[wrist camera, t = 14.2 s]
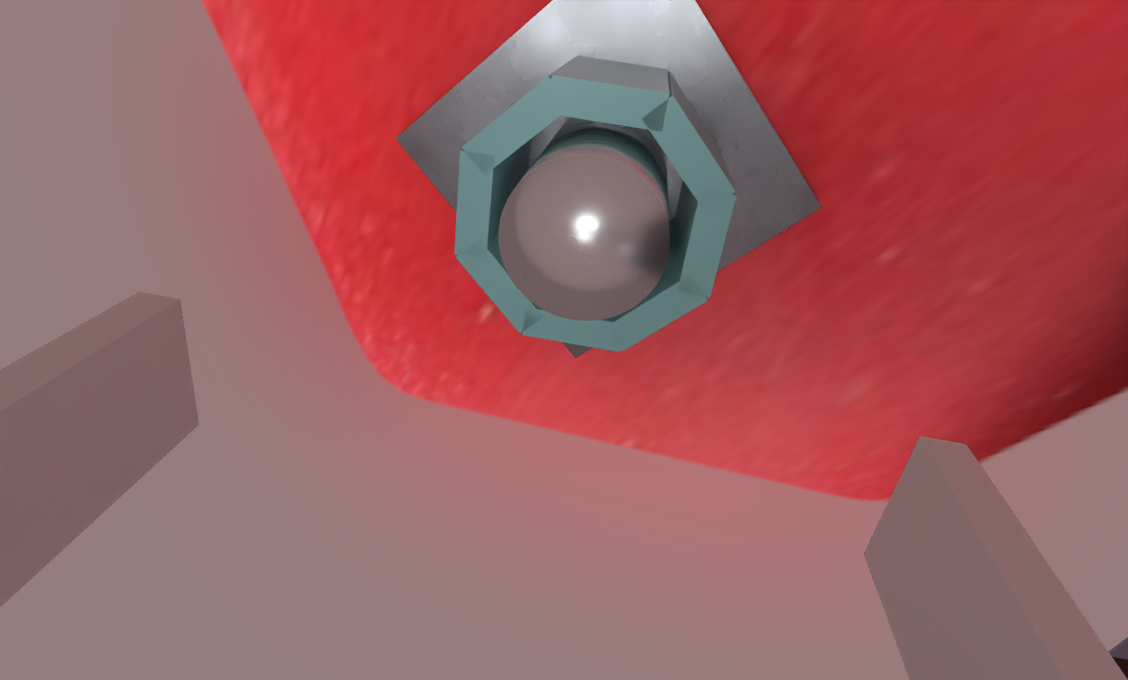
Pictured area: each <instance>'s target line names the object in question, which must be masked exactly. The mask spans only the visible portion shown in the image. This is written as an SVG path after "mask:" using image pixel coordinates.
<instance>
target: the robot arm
mask: <svg viewBox="0 0 1128 680" xmlns="http://www.w3.org/2000/svg"><path fill="white" fill-rule="evenodd" d="M198 425H199V421H198V414H197V408H196V401H195V394H194V388H193V381H192V375H191V368H190V362H189V355H188V349H187V342H186V335H185V329H184V323H183V316H182V309H181V302H180V299H176V298H170V297H165V296H159V295H154V294H149V293H143V292H138V293H136V294H135V295H133V296H131V297H129V298H128V299H126V300H124V301H122V302H120V303H119V304H117V305H115V306H113V307H112V308H110V309H108V310H106V311H104V312H103V313H101V314H99V315H97V316H96V317H94V318H92V319H90V320H88V321H86V322H85V323H83V324H81V325H79V326H78V327H76V328H74V329H72V330H70V331H69V332H67V333H65V334H63V335H62V336H60V337H58V338H56V339H55V340H53V341H51V342H49V343H47V344H46V345H44V346H42V347H40V348H39V349H37V350H35V351H33V352H31V353H29V354H28V355H26V356H24V357H22V358H21V359H19V360H17V361H15V362H14V363H12V364H10V365H8V366H6V367H5V368H3V369H1V370H0V607H1V606H2V605H3V604H4V603H5V602H7V601H8V600H9V599H10V598H11V597H12V596H13V595H14V594H15V593H16V592H17V591H19V590H20V589H21V588H22V587H23V586H24V585H25V584H26V583H27V582H28V581H29V580H30V579H32V578H33V577H34V576H35V575H36V574H37V573H38V572H39V571H40V570H41V569H43V568H44V567H45V566H46V565H47V564H48V563H49V562H50V561H51V560H52V559H53V558H54V557H55V556H57V555H58V554H59V553H60V552H61V551H62V550H63V549H64V548H65V547H66V546H68V545H69V544H70V543H71V542H72V541H73V540H74V539H75V538H76V537H77V536H78V535H79V534H80V533H82V532H83V531H84V530H85V529H86V528H87V527H88V526H89V525H90V524H91V523H93V522H94V521H95V520H96V519H97V518H98V517H99V516H100V515H101V514H102V513H103V512H104V511H106V509H108V508H109V507H110V506H111V505H112V504H113V503H114V502H115V501H116V500H117V499H119V498H120V497H121V496H122V495H123V494H124V493H125V492H126V491H127V490H128V489H129V488H131V487H132V486H133V485H134V484H135V483H136V482H137V481H138V480H139V479H140V478H141V477H143V476H144V475H145V474H146V473H147V472H148V471H149V470H150V469H151V468H152V467H153V466H154V465H156V464H157V463H158V462H159V461H160V460H161V459H162V458H163V457H164V456H165V455H166V454H167V453H169V451H171V450H172V449H173V448H174V447H175V446H176V445H177V444H178V443H179V442H180V441H182V440H183V439H184V438H185V437H186V436H187V435H188V434H189V433H190V432H191V431H192V430H193V429H194V428H196V427H197V426H198ZM864 556H865V558H866V561H867V564H868V567H869V569H870V572H871V575H872V578H873V580H874V583H875V586H876V589H877V591H878V594H879V597H880V600H881V602H882V605H883V608H884V610H885V613H886V616H887V619H888V621H889V624H890V627H891V630H892V632H893V635H894V637H895V641H896V643H897V646H898V649H899V651H900V654H901V657H902V660H903V662H904V665H905V668H906V671H907V673H908V676H909V679H910V680H1128V638H1126V639H1125V640H1124V641H1122V642H1121V643H1120V644H1118V645H1117V646H1115V647H1114V648H1113V649H1111V650H1110V651H1107V649H1106V647H1105V646H1104V645H1103V643H1102V642H1101V640H1100V639H1099V638H1098V636H1097V634H1096V633H1095V631H1094V630H1093V629H1092V627H1091V626H1090V624H1089V623H1088V621H1087V620H1086V618H1085V617H1084V616H1083V614H1082V613H1081V611H1080V610H1079V608H1078V607H1077V605H1076V604H1075V602H1074V601H1073V599H1072V598H1071V596H1070V595H1069V593H1068V592H1067V591H1066V589H1065V588H1064V586H1063V585H1062V583H1061V582H1060V580H1059V579H1058V578H1057V576H1056V575H1055V573H1054V572H1053V570H1052V569H1051V567H1050V566H1049V564H1048V563H1047V561H1046V560H1045V559H1044V557H1043V556H1042V554H1041V553H1040V551H1039V550H1038V548H1037V547H1036V545H1035V544H1034V542H1033V541H1032V540H1031V538H1030V537H1029V535H1028V534H1027V532H1026V531H1025V529H1024V528H1023V526H1022V525H1021V523H1020V522H1019V521H1018V519H1017V518H1016V516H1015V515H1014V513H1013V512H1012V510H1011V509H1010V507H1009V506H1008V504H1007V503H1006V502H1005V500H1004V499H1003V497H1002V496H1001V494H1000V493H999V491H998V490H997V489H996V487H995V486H994V484H993V483H992V481H991V480H990V478H989V477H988V476H987V474H986V472H985V471H984V469H983V468H982V467H981V465H980V464H979V462H978V461H977V459H976V458H975V456H974V455H973V453H972V452H971V450H970V449H969V448H968V446H967V445H966V444H962V443H957V442H952V441H946V440H941V439H935V438H930V437H925V436H920V437H919V439H918V441H917V443H916V446H915V448H914V450H913V452H912V454H911V456H910V458H909V460H908V462H907V464H906V466H905V468H904V471H903V473H902V475H901V477H900V479H899V481H898V483H897V485H896V487H895V489H894V491H893V494H892V496H891V498H890V500H889V502H888V504H887V506H886V508H885V510H884V512H883V514H882V517H881V519H880V521H879V523H878V525H877V527H876V529H875V531H874V533H873V536H872V537H871V540H870V542H869V544H868V546H867V548H866V550H865V552H864Z"/></svg>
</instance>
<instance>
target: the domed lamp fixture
mask: <svg viewBox="0 0 1128 680" xmlns="http://www.w3.org/2000/svg"><path fill="white" fill-rule="evenodd" d="M578 56H584V57H591V58H597V59H604V60H610V61H617V62H623V63H630V64H636V65H643V66H649V67H656V68H662V69H667V72H669V71H670V72H671V74H672V76H673V77H674V79H675V80H676V82H677V83H678V85H679V86H680V88H681V89H682V91H683V93H684V94H685V96H686V97H687V99H688V100H689V102H690V103H691V105H692V106H693V108H694V110H695V111H696V113H697V114H698V116H699V117H700V119H701V120H702V122H703V123H704V125H705V126H706V128H707V130H708V131H709V133H710V134H711V136H712V137H713V139H714V140H715V142H716V143H717V145H718V148H719V150H720V153H721V155H722V158H723V160H724V163H725V165H726V168H727V170H728V173H729V175H730V178H731V181H732V183H733V186H734V188H735V191H736V192H735V193H736V199H735V203H734V207H733V211H732V215H731V219H730V222H729V226H728V230H727V234H726V238H725V242H724V246H723V250H722V254H721V257H720V261H719V265H718V269H717V271H719V270H720V269H722V268H723V267H725V266H727V265H728V264H730V263H732V262H733V261H735V260H736V259H738V258H740V257H741V256H743V255H745V254H746V253H748V252H750V251H751V250H753V249H754V248H756V247H758V246H759V245H761V244H763V243H764V242H766V241H767V240H769V239H771V238H772V237H774V236H776V235H777V234H779V233H781V232H782V231H784V230H785V229H787V228H789V227H790V226H792V225H794V224H795V223H797V222H798V221H800V220H802V219H803V218H805V217H807V216H808V215H810V214H812V213H813V212H815V211H816V210H818V209H820V208H821V207H822V206H821V205H820V203H819V202H818V200H817V198H816V197H815V195H814V193H813V192H812V190H811V188H810V187H809V185H808V184H807V182H806V180H805V179H804V177H803V175H802V174H801V172H800V171H799V169H798V167H797V166H796V164H795V162H794V161H793V159H792V158H791V156H790V154H789V153H788V151H787V149H786V148H785V146H784V145H783V143H782V141H781V140H780V138H779V136H778V135H777V133H776V131H775V130H774V128H773V127H772V125H771V123H770V122H769V120H768V118H767V117H766V115H765V114H764V112H763V110H762V109H761V107H760V105H759V104H758V102H757V101H756V99H755V97H754V96H753V94H752V92H751V91H750V89H749V87H748V86H747V84H746V83H745V81H744V79H743V78H742V76H741V74H740V73H739V71H738V70H737V68H736V66H735V65H734V63H733V61H732V60H731V58H730V57H729V55H728V53H727V52H726V50H725V48H724V47H723V45H722V44H721V42H720V40H719V39H718V37H717V35H716V34H715V32H714V30H713V29H712V27H711V26H710V24H709V22H708V21H707V19H706V17H705V16H704V14H703V13H702V11H701V9H700V8H699V6H698V4H697V3H696V1H695V0H552V1H551V2H550V3H549V4H548V5H547V6H546V7H545V8H543V9H542V10H541V11H540V12H539V13H538V14H537V15H535V16H534V17H533V18H532V19H531V20H530V21H529V22H527V23H526V24H525V25H524V26H523V27H522V28H521V29H519V30H518V31H517V32H516V33H515V34H514V35H513V36H512V37H510V38H509V39H508V40H507V41H506V42H505V43H504V44H502V45H501V46H500V47H499V48H498V49H497V50H496V51H494V52H493V53H492V54H491V55H490V56H489V57H488V58H486V59H485V60H484V61H483V62H482V63H481V64H480V65H478V66H477V67H476V68H475V69H474V70H473V71H472V72H471V73H469V74H468V75H467V76H466V77H465V78H464V79H463V80H461V81H460V82H459V83H458V84H457V85H456V86H455V87H453V88H452V89H451V90H450V91H449V92H448V93H447V94H445V95H444V96H443V97H442V98H441V99H440V100H439V101H437V102H436V103H435V104H434V105H433V106H432V107H431V108H430V109H428V110H427V111H426V112H425V113H424V114H423V115H422V116H420V117H419V118H418V119H417V120H416V121H415V122H414V123H412V124H411V125H410V126H409V127H408V128H407V129H406V130H404V131H403V132H402V133H401V134H400V135H399V136H398V137H397V138H396V139H397V141H398V142H399V143H400V144H401V146H402V147H403V148H404V149H405V150H406V152H407V153H408V154H409V155H410V157H411V158H412V159H413V160H414V161H415V163H416V164H417V165H418V166H419V168H420V169H421V170H422V171H423V172H424V174H425V175H426V176H427V177H428V179H429V180H430V181H431V182H432V183H433V185H434V186H435V187H436V188H437V190H438V191H439V192H440V193H441V194H442V196H443V197H444V198H445V199H446V201H447V202H448V203H449V204H450V205H451V207H452V208H453V209H454V210H455V211H456V213H457V197H458V179H459V161H460V150H461V149H463V148H462V147H463V146H464V145H465V144H466V143H467V142H469V141H470V140H471V139H472V138H473V137H475V136H476V135H477V134H478V133H479V132H481V131H482V130H483V129H484V128H486V127H487V126H488V125H489V124H490V123H492V122H493V121H494V120H495V119H496V118H498V117H499V116H500V115H501V114H503V113H504V112H505V111H506V110H507V109H509V108H510V107H511V106H512V105H513V104H515V103H516V102H517V101H518V100H519V99H521V98H522V97H523V96H524V95H526V94H527V93H528V92H529V91H530V90H532V89H533V88H534V87H535V86H536V85H538V84H539V83H540V82H541V81H543V80H544V79H545V78H546V77H547V76H549V75H550V74H552V73H553V72H554V71H556V70H557V69H559V68H560V67H562V66H563V65H564V64H566V63H567V62H569V61H570V60H572V59H573V58H574V57H578ZM682 183H683V179H682V178H681V176H680V175H679V173H678V172H677V170H676V169H675V167H674V166H673V164H672V163H671V161H670V160H669V159H668V157H667V156H666V154H665V153H664V151H663V150H662V148H661V147H660V145H659V144H658V142H657V141H656V139H655V138H654V136H653V135H652V133H651V132H650V131H649V130H648V129H642V128H635V127H629V126H623V125H616V124H610V123H604V122H598V121H591V120H585V119H579V118H572V117H566V116H559V117H558V118H557V119H555V120H554V121H553V122H552V123H550V124H549V125H548V126H546V127H545V128H544V129H543V130H541V131H540V132H539V133H538V134H536V135H535V136H534V137H533V138H531V148H530V157H529V167H528V171H527V172H526V174H525V175H524V176H523V178H522V179H521V180H520V182H519V183H518V184H517V186H516V187H515V188H514V190H513V191H512V193H511V194H510V196H509V197H508V199H507V201H506V204H505V206H504V208H503V211H502V214H501V218H500V224H499V236H498V240H499V249H500V254H501V258H502V261H503V264H504V266H505V269H506V271H507V273H508V275H509V277H510V279H511V280H512V282H513V283H514V284H515V286H516V287H517V288H518V290H519V291H520V292H521V293H522V294H523V295H524V296H525V297H526V298H527V299H529V300H530V301H531V302H532V303H533V304H535V305H536V306H538V307H539V308H541V309H543V310H545V311H547V312H549V313H551V314H553V315H556V316H559V317H562V318H566V319H571V320H579V321H595V320H603V319H607V318H611V317H614V316H617V315H619V314H622V313H624V312H626V311H628V310H630V309H632V308H633V307H635V306H636V305H637V304H639V303H640V302H641V301H642V300H643V299H645V298H646V297H647V296H648V295H649V294H650V292H651V291H652V290H653V289H654V288H655V286H656V285H657V283H658V281H659V280H660V278H661V276H662V274H663V272H664V269H665V267H666V263H667V260H668V255H669V248H670V229H669V220H671V219H672V218H674V217H675V215H676V210H677V206H678V201H679V197H680V192H681V187H682ZM563 343H564V345H565V346H566V347H567V348H568V349H569V351H570V352H571V353H572V354H573V355H574V357H575V358H577V357H578V356H580V355H581V354H583V353H585V352H586V351H588V350H590V349H591V348H593V347H587V346H582V345H576V344H570V343H565V342H563Z"/></svg>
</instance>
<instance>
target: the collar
mask: <svg viewBox="0 0 1128 680" xmlns="http://www.w3.org/2000/svg"><path fill="white" fill-rule="evenodd" d="M559 116H566V117H572V118H579V119H585V120H591V121H598V122H604V123H610V124H616V125H623V126H629V127H635V128H642V129H648V130H649V131H650V132H651V133H652V135H653V136H654V138H655V139H656V141H657V142H658V144H659V145H660V147H661V148H662V150H663V151H664V153H665V154H666V156H667V157H668V159H669V160H670V161H671V163H672V164H673V166H674V167H675V169H676V170H677V172H678V173H679V175H680V176H681V178H682V179H683V183H682V187H681V192H680V197H679V201H678V206H677V210H676V215H675V217H674V218H672V219H671V220H669V229H670V248H669V255H668V260H667V263H666V267H665V269H664V272H663V274H662V276H661V278H660V280H659V281H658V283H657V285H656V286H655V288H654V289H653V290H652V291H651V292H650V294H649V295H648V296H647V297H646V298H645V299H643V300H642V301H641V302H640V303H639V304H637V305H636V306H635V307H633V308H632V309H630V310H628V311H626V312H624V313H622V314H619V315H617V316H614V317H611V318H607V319H603V320H595V321H579V320H571V319H566V318H562V317H559V316H556V315H553V314H551V313H549V312H547V311H545V310H543V309H541V308H539V307H538V306H536V305H535V304H533V303H532V302H531V301H530V300H529V299H527V298H526V297H525V296H524V295H523V294H522V293H521V292H520V291H519V290H518V288H517V287H516V286H515V284H514V283H513V282H512V280H511V279H510V277H509V275H508V273H507V271H506V269H505V266H504V264H503V261H502V258H501V254H500V249H499V240H498V236H499V224H500V218H501V214H502V211H503V208H504V206H505V204H506V201H507V199H508V197H509V196H510V194H511V193H512V191H513V190H514V188H515V187H516V186H517V184H518V183H519V182H520V180H521V179H522V178H523V176H524V175H525V174H526V172H527V171H528V167H529V157H530V148H531V138H533V137H534V136H535V135H536V134H538V133H539V132H540V131H541V130H543V129H544V128H545V127H546V126H548V125H549V124H550V123H552V122H553V121H554V120H555V119H557V118H558V117H559ZM462 148H463V149H461V150H460V161H459V179H458V197H457V215H456V233H455V251H454V254H457V256H456V258H457V260H458V261H459V262H460V263H461V264H462V266H463V267H464V268H465V269H466V270H467V271H468V273H469V274H470V275H471V276H472V277H473V279H474V280H475V281H476V282H477V283H478V285H479V286H480V287H481V288H482V289H483V291H484V292H485V293H486V294H487V295H488V296H489V298H490V299H491V300H492V301H493V302H494V304H495V305H496V306H497V307H498V308H499V310H500V311H501V312H502V313H503V314H504V316H505V317H506V318H507V319H508V320H509V322H510V323H511V324H512V325H513V326H514V327H515V329H516V330H517V331H518V332H519V333H521V332H522V331H523V333H522V335H525V336H531V337H536V338H542V339H548V340H553V341H559V342H565V343H570V344H576V345H582V346H587V347H593V348H599V349H604V350H610V351H616V352H619V350H620V349H621V351H624V350H626V349H627V348H629V347H631V346H632V345H634V344H636V343H637V342H639V341H641V340H643V339H644V338H646V337H648V336H649V335H651V334H653V333H654V332H656V331H658V330H659V329H661V328H663V327H664V326H666V325H668V324H669V323H671V322H673V321H674V320H676V319H678V318H679V317H681V316H683V315H684V314H686V313H688V312H689V311H691V310H693V309H694V308H696V307H698V306H700V305H701V304H703V303H705V302H706V301H708V297H709V298H710V296H711V292H712V289H713V285H714V281H715V277H716V273H717V269H718V265H719V261H720V257H721V254H722V250H723V246H724V242H725V238H726V234H727V230H728V226H729V222H730V219H731V215H732V211H733V207H734V203H735V199H736V193H735V192H736V191H735V188H734V186H733V183H732V181H731V178H730V175H729V173H728V170H727V168H726V165H725V163H724V160H723V158H722V155H721V153H720V150H719V148H718V145H717V143H716V142H715V140H714V139H713V137H712V136H711V134H710V133H709V131H708V130H707V128H706V126H705V125H704V123H703V122H702V120H701V119H700V117H699V116H698V114H697V113H696V111H695V110H694V108H693V106H692V105H691V103H690V102H689V100H688V99H687V97H686V96H685V94H684V93H683V91H682V89H681V88H680V86H679V85H678V83H677V82H676V80H675V79H674V77H673V76H672V74H671V72H670V71H669V72H667V69H662V68H656V67H649V66H643V65H636V64H630V63H623V62H617V61H610V60H604V59H597V58H591V57H584V56H578V57H574V58H573V59H572V60H570V61H569V62H567V63H566V64H564V65H563V66H562V67H560V68H559V69H557V70H556V71H554V72H553V73H552V74H550V75H549V76H547V77H546V78H545V79H544V80H543V81H541V82H540V83H539V84H538V85H536V86H535V87H534V88H533V89H532V90H530V91H529V92H528V93H527V94H526V95H524V96H523V97H522V98H521V99H519V100H518V101H517V102H516V103H515V104H513V105H512V106H511V107H510V108H509V109H507V110H506V111H505V112H504V113H503V114H501V115H500V116H499V117H498V118H496V119H495V120H494V121H493V122H492V123H490V124H489V125H488V126H487V127H486V128H484V129H483V130H482V131H481V132H479V133H478V134H477V135H476V136H475V137H473V138H472V139H471V140H470V141H469V142H467V143H466V144H465V145H464V146H463V147H462Z"/></svg>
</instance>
